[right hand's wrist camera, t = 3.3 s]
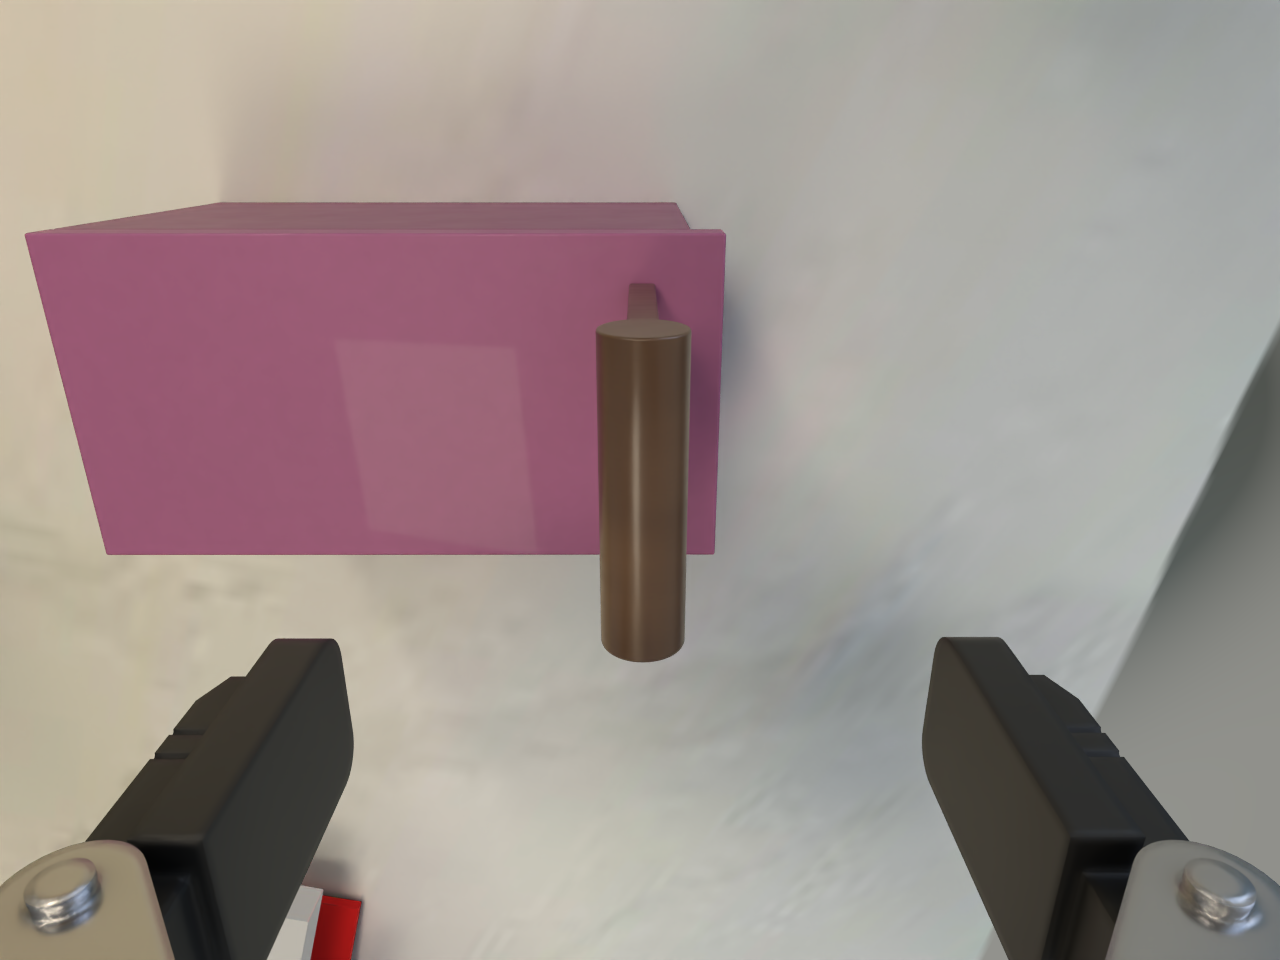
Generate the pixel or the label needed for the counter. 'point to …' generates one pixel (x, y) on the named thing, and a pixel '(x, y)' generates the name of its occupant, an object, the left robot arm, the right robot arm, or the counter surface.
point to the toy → (317, 928)
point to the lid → (402, 396)
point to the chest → (407, 216)
